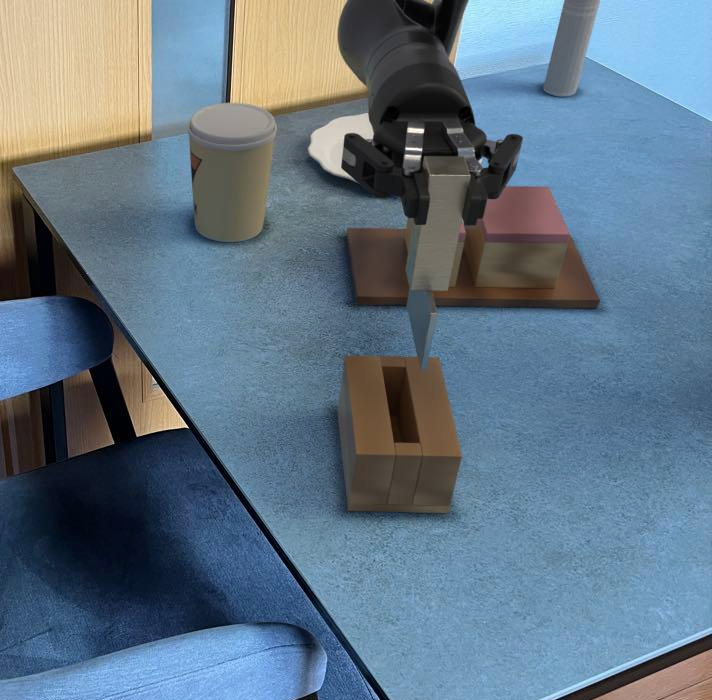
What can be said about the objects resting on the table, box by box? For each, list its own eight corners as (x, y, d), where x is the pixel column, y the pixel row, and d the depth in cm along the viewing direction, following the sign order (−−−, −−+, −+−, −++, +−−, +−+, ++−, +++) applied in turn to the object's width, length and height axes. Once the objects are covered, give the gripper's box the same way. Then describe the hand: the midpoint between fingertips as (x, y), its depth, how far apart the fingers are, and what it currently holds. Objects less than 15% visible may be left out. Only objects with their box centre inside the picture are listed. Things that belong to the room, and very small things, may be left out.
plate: (481, 206, 118) (484, 192, 117) (300, 193, 121) (301, 179, 120) (476, 129, 133) (479, 116, 132) (314, 119, 136) (315, 107, 135)
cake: (566, 238, 113) (583, 177, 108) (597, 308, 103) (617, 245, 98) (346, 236, 114) (353, 175, 109) (356, 304, 104) (364, 241, 99)
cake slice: (441, 237, 111) (451, 185, 107) (454, 287, 104) (466, 232, 100) (404, 237, 112) (412, 184, 107) (415, 286, 105) (424, 232, 100)
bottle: (582, 92, 141) (626, -72, 127) (558, 99, 139) (600, -67, 125) (559, 82, 144) (600, -81, 129) (536, 88, 142) (574, -76, 128)
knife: (426, 305, 84) (457, 137, 74) (441, 370, 78) (478, 196, 68) (392, 305, 84) (418, 137, 74) (404, 370, 78) (435, 196, 68)
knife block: (427, 413, 92) (439, 356, 87) (448, 513, 82) (462, 456, 78) (337, 411, 92) (344, 355, 88) (347, 511, 83) (356, 453, 78)
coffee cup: (201, 201, 120) (202, 97, 112) (279, 212, 118) (286, 106, 110) (177, 239, 114) (176, 132, 105) (259, 251, 112) (264, 143, 103)
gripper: (334, 60, 80) (351, 159, 68) (516, 60, 80) (566, 160, 68) (325, 153, 86) (340, 261, 73) (496, 154, 85) (539, 263, 73)
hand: (448, 212), depth 71 cm, fingers closed on knife, 3 cm apart
